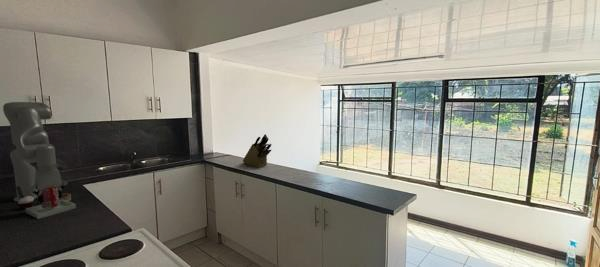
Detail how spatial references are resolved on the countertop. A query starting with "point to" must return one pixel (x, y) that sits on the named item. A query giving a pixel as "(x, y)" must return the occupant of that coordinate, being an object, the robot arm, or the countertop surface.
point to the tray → (42, 212)
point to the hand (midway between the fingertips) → (50, 199)
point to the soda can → (50, 197)
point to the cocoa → (24, 200)
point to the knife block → (258, 153)
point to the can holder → (65, 197)
